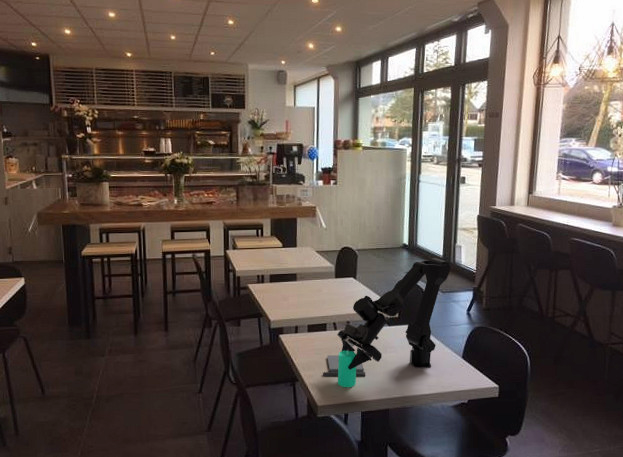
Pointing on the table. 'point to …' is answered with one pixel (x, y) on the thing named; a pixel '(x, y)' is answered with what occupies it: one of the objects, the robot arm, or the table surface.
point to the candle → (346, 369)
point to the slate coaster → (334, 362)
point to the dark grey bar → (337, 374)
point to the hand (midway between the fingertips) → (343, 365)
